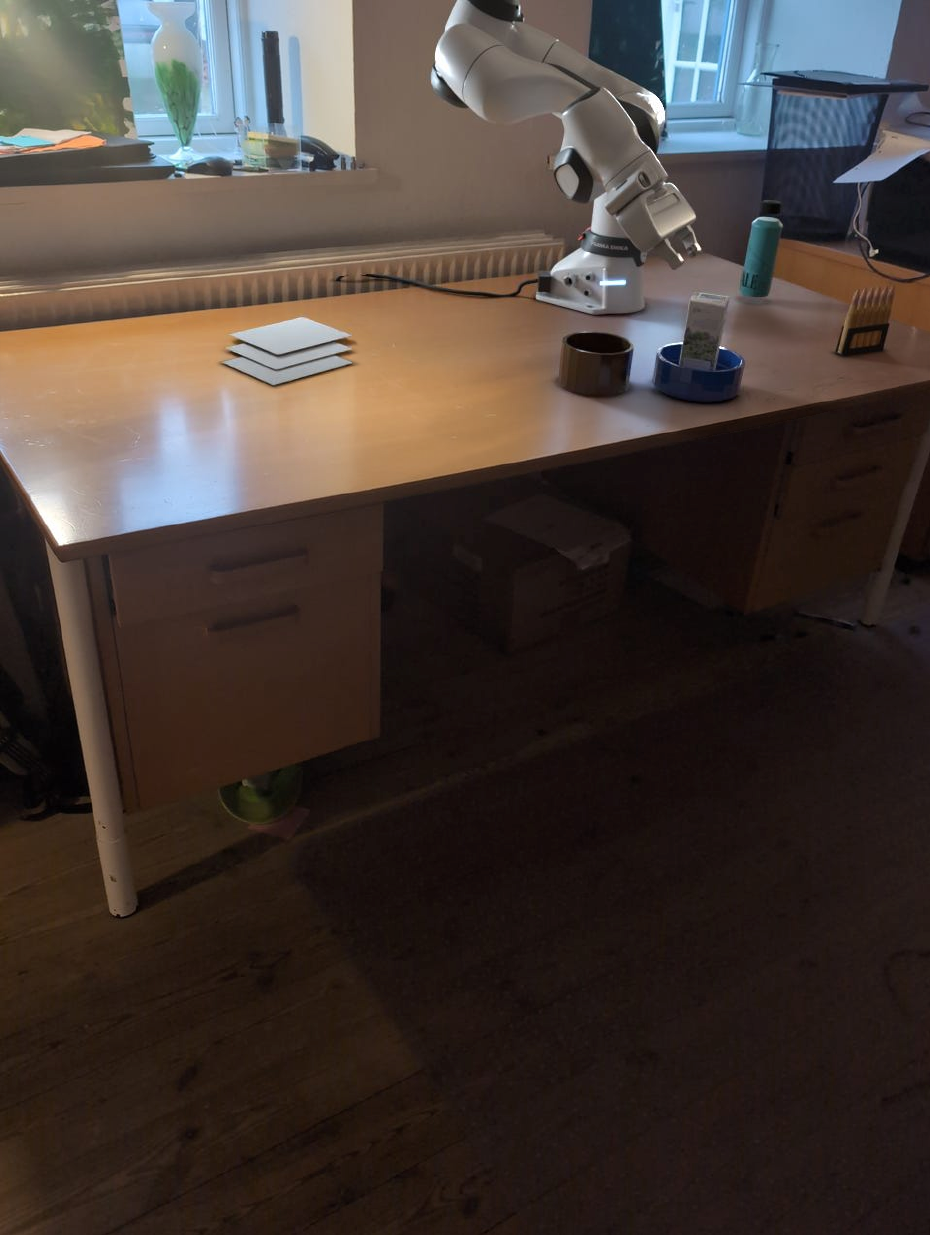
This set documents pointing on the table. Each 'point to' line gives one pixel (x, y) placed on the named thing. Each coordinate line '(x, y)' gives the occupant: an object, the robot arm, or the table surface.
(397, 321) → the table surface
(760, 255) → the beverage bottle
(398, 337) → the table surface
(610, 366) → the cup
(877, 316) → the ammunition clip
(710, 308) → the syrup box
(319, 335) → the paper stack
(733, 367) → the bowl
